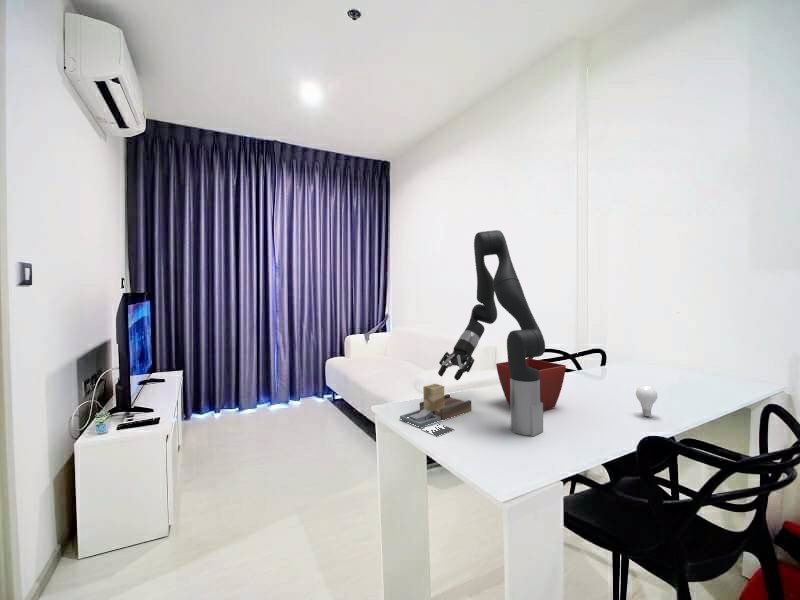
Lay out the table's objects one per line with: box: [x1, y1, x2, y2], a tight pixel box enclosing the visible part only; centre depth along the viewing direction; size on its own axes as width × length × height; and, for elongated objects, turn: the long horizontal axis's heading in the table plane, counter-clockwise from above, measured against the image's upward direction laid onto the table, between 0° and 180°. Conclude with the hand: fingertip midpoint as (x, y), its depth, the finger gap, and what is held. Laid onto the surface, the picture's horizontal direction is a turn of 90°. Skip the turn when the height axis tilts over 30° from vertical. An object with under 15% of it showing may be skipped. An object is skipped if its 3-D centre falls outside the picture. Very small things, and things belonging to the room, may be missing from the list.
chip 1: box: [409, 414, 425, 422], centre depth 131 cm, size 4×4×2 cm
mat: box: [426, 422, 455, 437], centre depth 122 cm, size 8×8×1 cm
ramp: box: [419, 393, 472, 421], centre depth 140 cm, size 12×16×4 cm
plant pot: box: [495, 358, 567, 411], centre depth 144 cm, size 19×19×17 cm
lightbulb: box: [635, 385, 658, 418], centre depth 129 cm, size 6×6×11 cm
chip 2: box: [418, 408, 433, 420], centre depth 133 cm, size 4×4×2 cm
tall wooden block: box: [422, 383, 445, 411], centre depth 136 cm, size 5×6×8 cm
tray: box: [399, 409, 441, 428], centre depth 132 cm, size 11×10×2 cm
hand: (447, 377), depth 141 cm, fingers open, 8 cm apart
